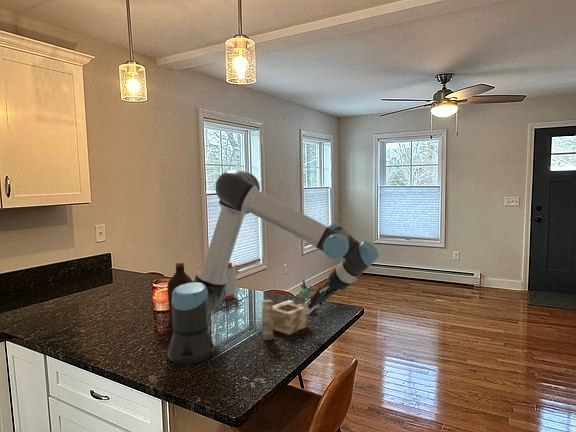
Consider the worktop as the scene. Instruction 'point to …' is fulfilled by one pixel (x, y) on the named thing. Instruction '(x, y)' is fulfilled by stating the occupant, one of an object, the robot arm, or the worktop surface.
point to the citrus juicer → (231, 281)
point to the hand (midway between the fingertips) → (306, 311)
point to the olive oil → (177, 284)
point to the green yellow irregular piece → (304, 293)
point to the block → (289, 318)
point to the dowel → (267, 319)
